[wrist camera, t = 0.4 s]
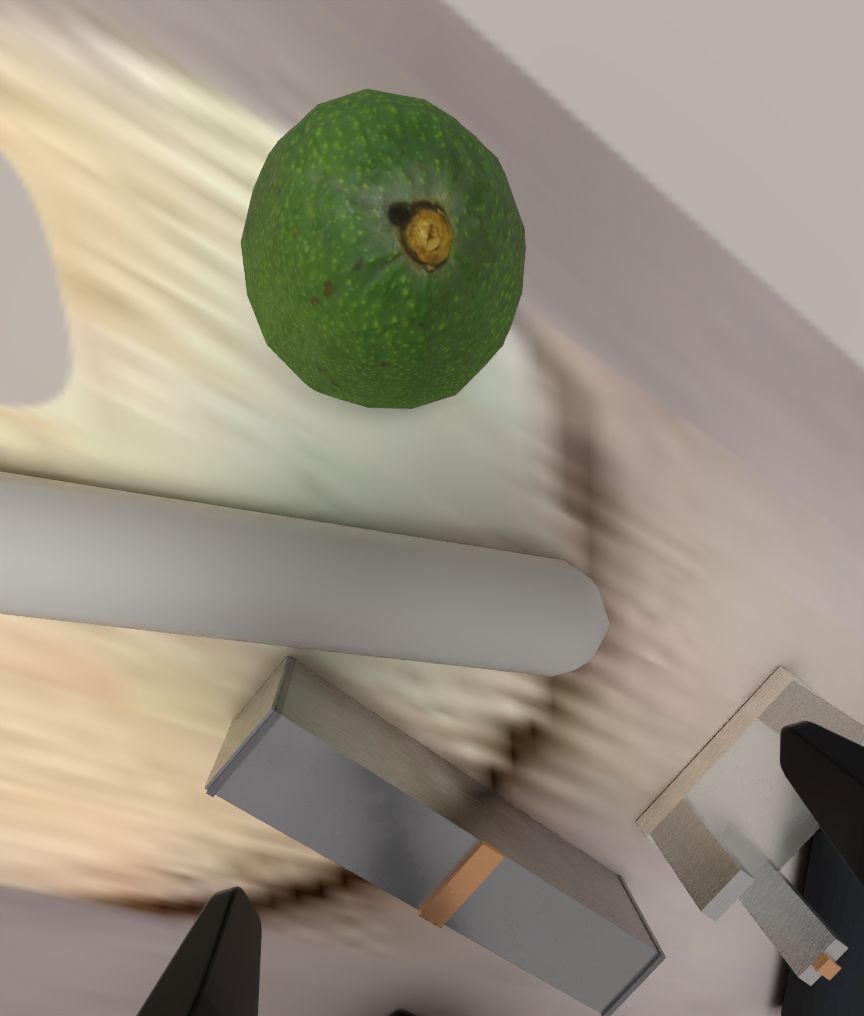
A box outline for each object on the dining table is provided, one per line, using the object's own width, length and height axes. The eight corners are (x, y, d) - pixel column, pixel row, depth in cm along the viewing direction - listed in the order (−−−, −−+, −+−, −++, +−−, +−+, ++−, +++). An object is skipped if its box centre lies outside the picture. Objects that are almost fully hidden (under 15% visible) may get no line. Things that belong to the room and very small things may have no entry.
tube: (638, 559, 19) (-116, 437, 15) (627, 703, 18) (-172, 618, 14) (573, 561, 24) (0, 471, 20) (562, 674, 24) (-37, 605, 19)
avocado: (304, 426, 20) (221, 453, 9) (254, 215, 19) (68, -106, 7) (494, 390, 21) (655, 371, 9) (463, 184, 19) (613, -155, 8)
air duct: (623, 877, 27) (669, 961, 23) (573, 931, 27) (609, 1023, 23) (288, 654, 22) (270, 710, 18) (231, 723, 22) (201, 793, 18)
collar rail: (730, 889, 28) (813, 997, 23) (635, 821, 26) (701, 922, 21) (868, 745, 27) (984, 823, 22) (779, 666, 26) (884, 731, 20)
